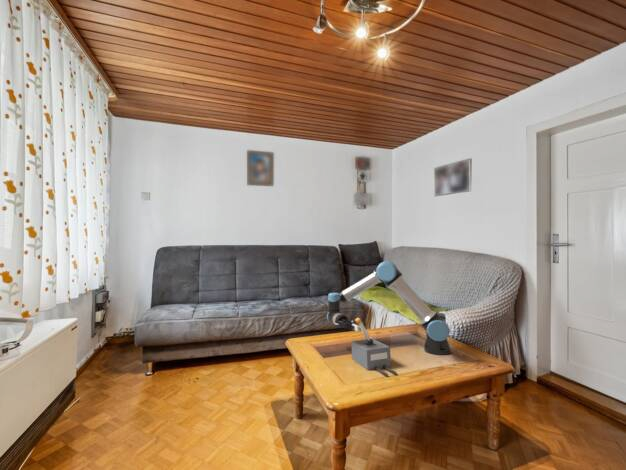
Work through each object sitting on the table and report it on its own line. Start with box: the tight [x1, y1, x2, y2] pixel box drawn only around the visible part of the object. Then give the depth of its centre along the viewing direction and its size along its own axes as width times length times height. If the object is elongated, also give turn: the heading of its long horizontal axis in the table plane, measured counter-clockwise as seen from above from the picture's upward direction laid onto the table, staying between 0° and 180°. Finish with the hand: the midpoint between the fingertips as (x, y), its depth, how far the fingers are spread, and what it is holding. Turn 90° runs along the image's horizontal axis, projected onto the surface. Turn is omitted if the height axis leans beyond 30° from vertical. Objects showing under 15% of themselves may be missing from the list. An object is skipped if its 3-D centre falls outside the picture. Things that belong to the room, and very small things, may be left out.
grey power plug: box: [350, 338, 398, 377], centre depth 152 cm, size 29×14×10 cm, turn 19°
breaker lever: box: [354, 317, 373, 344], centre depth 157 cm, size 4×2×15 cm, turn 19°
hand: (358, 328), depth 152 cm, fingers closed
